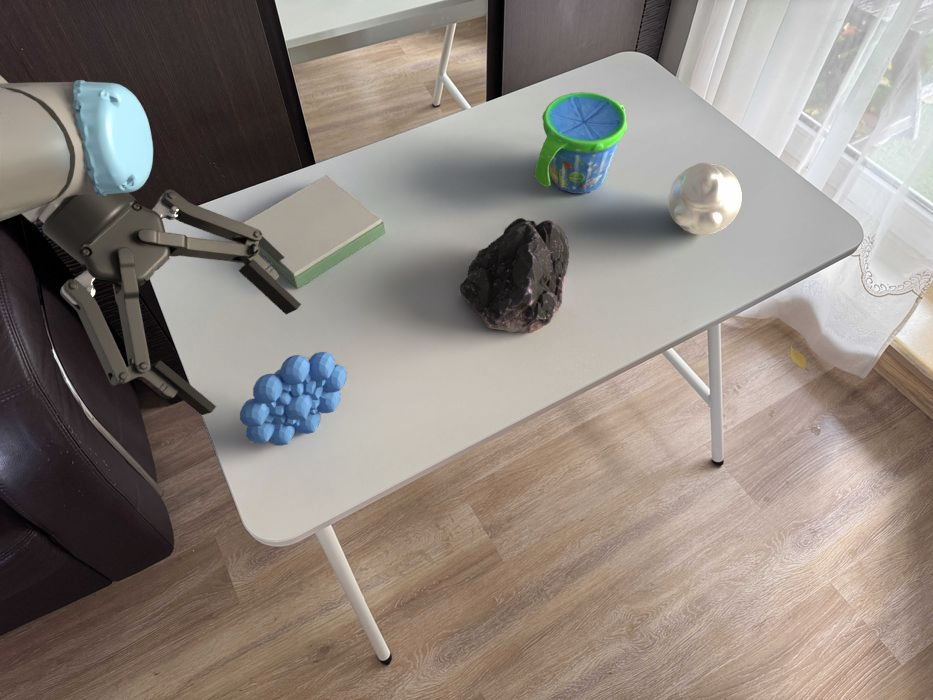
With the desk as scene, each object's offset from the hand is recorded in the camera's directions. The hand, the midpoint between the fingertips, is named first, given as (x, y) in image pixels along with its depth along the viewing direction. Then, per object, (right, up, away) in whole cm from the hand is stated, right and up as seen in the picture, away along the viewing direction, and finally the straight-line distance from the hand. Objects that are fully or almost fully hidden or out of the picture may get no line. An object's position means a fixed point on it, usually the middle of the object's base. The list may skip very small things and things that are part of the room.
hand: (253, 358), depth 70 cm
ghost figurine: (+51, +17, +23) cm, 58 cm away
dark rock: (+27, +8, +17) cm, 33 cm away
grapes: (+3, -7, +7) cm, 11 cm away
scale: (+1, +16, +24) cm, 29 cm away
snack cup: (+36, +25, +29) cm, 53 cm away
